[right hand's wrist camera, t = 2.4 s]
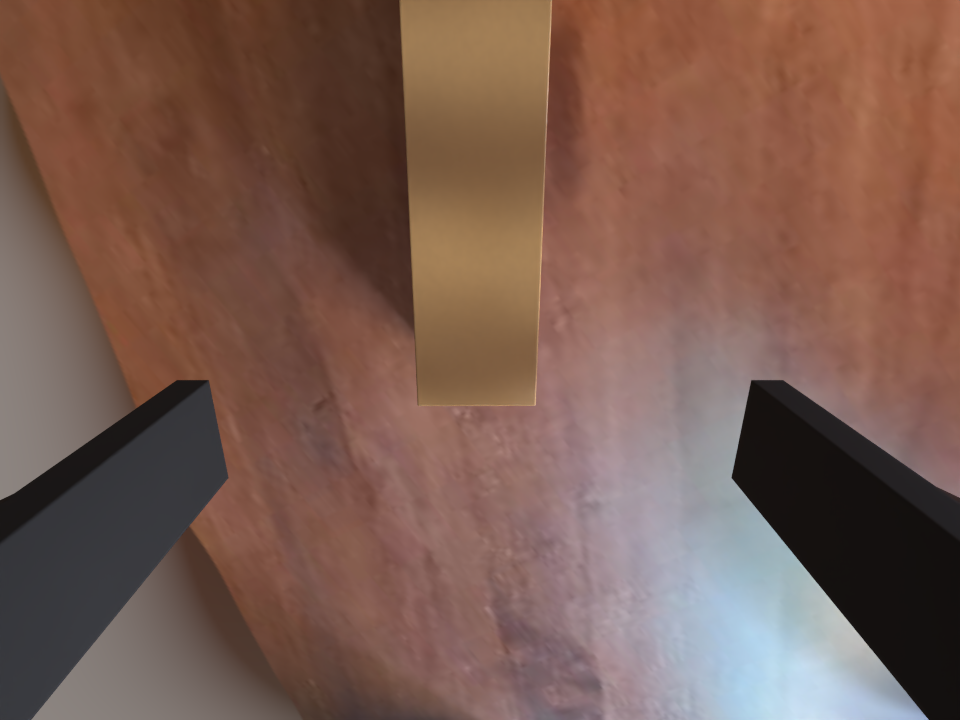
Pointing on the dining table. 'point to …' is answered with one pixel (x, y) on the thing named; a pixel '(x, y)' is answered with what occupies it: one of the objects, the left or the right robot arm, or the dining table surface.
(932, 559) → the right robot arm
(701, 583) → the dining table surface
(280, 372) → the dining table surface
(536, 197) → the bar
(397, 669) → the dining table surface
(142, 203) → the dining table surface
